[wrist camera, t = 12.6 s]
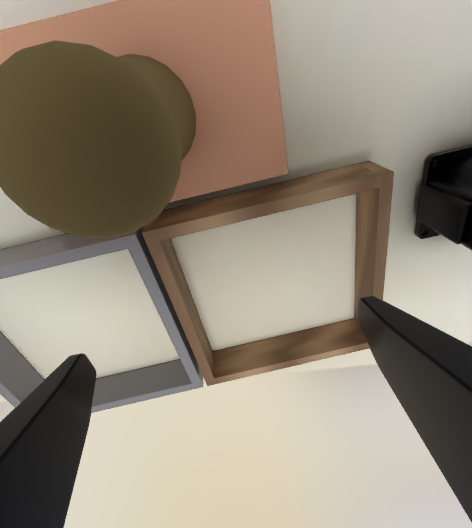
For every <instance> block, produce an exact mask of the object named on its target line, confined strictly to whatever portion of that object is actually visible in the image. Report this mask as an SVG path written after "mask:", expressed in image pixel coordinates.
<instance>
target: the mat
mask: <svg viewBox="0 0 472 528" xmlns="http://www.w3.org/2000/svg"><path fill="white" fill-rule="evenodd" d="M54 40H57V41H65V42H72V43H80V44H87V45H92V46H94V47H97V48H99V49H101V50H103V51H105V52H107V53H109V54H111V55H113V56H115V57H119V56H123V55H127V54H134V55H142V56H149V57H151V58H153V59H155V60H157V61H159V62H161V63H163V64H165V65H167V66H168V67H169V68H170V69H171V70H172V71H173V72H174V73H175V74H176V75H177V76H178V77H179V78H180V79H181V80H182V82H183V84H184V85H185V87H186V89H187V91H188V92H189V94H190V96H191V98H192V102H193V106H194V109H195V113H196V134H195V137H194V140H193V143H192V146H191V149H190V150H189V152H188V153H187V154H186V156H185V157H184V158H183V160H182V161H181V173H180V177H179V180H178V183H177V186H176V189H175V191H174V194H173V197H172V199H171V200H170V202H174V201H178V200H182V199H186V198H190V197H194V196H198V195H203V194H207V193H211V192H215V191H219V190H223V189H227V188H231V187H236V186H240V185H244V184H248V183H252V182H256V181H260V180H265V179H269V178H273V177H277V176H281V175H285V174H288V165H287V156H286V147H285V137H284V128H283V119H282V110H281V101H280V91H279V82H278V73H277V64H276V55H275V45H274V36H273V27H272V18H271V9H270V0H119V1H115V2H111V3H107V4H103V5H99V6H95V7H91V8H88V9H84V10H80V11H76V12H72V13H68V14H64V15H60V16H56V17H52V18H48V19H44V20H40V21H36V22H32V23H28V24H24V25H21V26H17V27H13V28H9V29H5V30H1V31H0V65H1V64H2V63H3V62H4V61H6V60H7V59H8V58H9V57H10V56H11V55H13V54H14V53H15V52H17V51H19V50H21V49H23V48H27V47H31V46H35V45H39V44H42V43H46V42H50V41H54ZM170 202H169V203H170ZM51 230H52V231H54V230H55V229H52V228H51Z"/></svg>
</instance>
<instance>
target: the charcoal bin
mask: <svg viewBox="0 0 472 528" xmlns="http://www.w3.org/2000/svg"><path fill="white" fill-rule="evenodd" d="M143 228H144V226H143V227H141V228H139V229H138V230H136V231H135V232H133V233H130V234H125V235H121V236H117V237H113V238H84V237H79V236H75V235H72V234H69V233H68V234H64V235H60V236H56V237H52V238H48V239H43V240H39V241H35V242H31V243H27V244H23V245H19V246H15V247H10V248H6V249H2V250H0V279H3V278H7V277H11V276H16V275H20V274H24V273H28V272H32V271H36V270H41V269H45V268H49V267H53V266H57V265H61V264H65V263H70V262H74V261H78V260H82V259H86V258H90V257H95V256H99V255H103V254H107V253H111V252H115V251H120V250H124V249H128V250H129V252H130V254H131V256H132V258H133V260H134V262H135V265H136V267H137V269H138V271H139V273H140V275H141V277H142V279H143V281H144V284H145V286H146V288H147V290H148V292H149V294H150V296H151V298H152V300H153V302H154V305H155V307H156V309H157V311H158V313H159V315H160V317H161V319H162V321H163V324H164V326H165V328H166V330H167V332H168V334H169V336H170V338H171V340H172V343H173V345H174V347H175V349H176V351H177V353H178V355H179V357H180V360H175V361H171V362H167V363H163V364H158V365H154V366H150V367H146V368H141V369H137V370H133V371H128V372H124V373H120V374H116V375H111V376H107V377H103V378H98V379H96V382H95V389H94V396H93V403H92V410H91V413H93V412H97V411H101V410H105V409H110V408H114V407H118V406H123V405H127V404H132V403H136V402H140V401H145V400H149V399H153V398H157V397H162V396H166V395H170V394H175V393H179V392H183V391H187V390H192V389H196V388H200V387H203V374H202V372H201V370H200V367H199V365H198V363H197V360H196V358H195V356H194V353H193V351H192V349H191V346H190V344H189V342H188V339H187V337H186V335H185V332H184V330H183V328H182V325H181V323H180V321H179V318H178V316H177V314H176V311H175V309H174V307H173V304H172V302H171V300H170V297H169V295H168V293H167V290H166V288H165V286H164V283H163V281H162V279H161V276H160V274H159V272H158V269H157V267H156V265H155V262H154V260H153V258H152V255H151V253H150V251H149V249H148V246H147V244H146V242H145V239H144V237H143V235H142V231H143ZM43 381H44V379H43V378H42V377H41V376H40V374H39V373H38V372H37V371H36V370H35V369H34V368H33V367H32V366H31V365H30V364H29V362H28V361H27V360H26V359H25V358H24V357H23V356H22V355H21V354H20V353H19V351H18V350H17V349H16V348H15V347H14V346H13V345H12V344H11V343H10V342H9V341H8V339H7V338H6V337H5V336H4V335H3V334H2V333H1V332H0V394H1V395H2V396H3V397H4V398H5V399H6V400H7V401H9V402H10V403H11V404H12V405H13V406H14V407H15V408H16V407H17V406H18V405H19V404H20V403H21V402H22V401H23V400H24V399H25V398H26V397H27V396H28V395H29V394H30V393H31V392H32V391H34V390H35V389H36V388H37V387H38V386H39V385H40V384H41V383H42V382H43Z"/></svg>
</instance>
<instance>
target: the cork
mask: <svg viewBox="0 0 472 528" xmlns="http://www.w3.org/2000/svg"><path fill="white" fill-rule="evenodd" d="M195 134H196V113H195V109H194V106H193V102H192V98H191V96H190V94H189V92H188V91H187V89H186V87H185V85H184V84H183V82H182V80H181V79H180V78H179V77H178V76H177V75H176V74H175V73H174V72H173V71H172V70H171V69H170V68H169V67H168V66H167V65H165V64H163V63H161V62H159V61H157V60H155V59H153V58H151V57H149V56H142V55H134V54H127V55H123V56H119V57H115V56H113V55H111V54H109V53H107V52H105V51H103V50H101V49H99V48H97V47H94V46H92V45H87V44H80V43H72V42H65V41H57V40H54V41H50V42H46V43H42V44H39V45H35V46H31V47H27V48H23V49H21V50H19V51H17V52H15V53H14V54H13V55H11V56H10V57H9V58H8V59H7V60H6V61H4V62H3V63H2V64H1V65H0V187H1V188H2V190H3V191H4V193H5V194H6V195H7V196H8V197H9V198H10V199H11V200H13V201H14V202H15V203H16V204H17V205H18V206H19V207H20V208H21V209H22V210H23V211H24V212H26V213H27V214H28V215H29V216H31V217H33V218H35V219H36V220H38V221H40V222H42V223H43V224H45V225H47V226H49V227H50V228H52V229H55V230H59V231H62V232H65V233H69V234H72V235H75V236H79V237H84V238H113V237H117V236H121V235H125V234H130V233H133V232H135V231H136V230H138V229H139V228H141V227H143V226H144V225H146V224H147V223H149V222H151V221H152V220H154V219H155V218H156V217H158V216H159V214H160V213H161V212H162V210H163V209H164V208H165V207H166V205H167V204H168V203H169V202H170V200H171V199H172V197H173V194H174V191H175V189H176V186H177V183H178V180H179V177H180V173H181V161H182V160H183V158H184V157H185V156H186V154H187V153H188V152H189V150H190V149H191V146H192V143H193V140H194V137H195Z"/></svg>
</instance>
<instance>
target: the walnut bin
mask: <svg viewBox="0 0 472 528" xmlns="http://www.w3.org/2000/svg"><path fill="white" fill-rule="evenodd" d="M393 176H394V172H393V171H391V170H388V169H386V168H384V167H382V166H380V165H377V164H375V163H373V162H371V161H366V162H362V163H358V164H353V165H349V166H345V167H341V168H337V169H333V170H329V171H324V172H320V173H316V174H312V175H308V176H304V177H300V178H296V179H291V180H287V181H283V182H279V183H275V184H271V185H267V186H262V187H258V188H254V189H250V190H246V191H242V192H238V193H234V194H229V195H225V196H221V197H217V198H213V199H209V200H205V201H200V202H196V203H192V204H188V205H184V206H180V207H176V208H172V209H167V210H163V211H162V212H161V213H160V214H159V216H158V217H156V218H155V219H154V220H152V221H151V222H149V223H147V224H146V225H144V228H143V231H142V235H143V237H144V239H145V242H146V244H147V246H148V249H149V251H150V253H151V255H152V258H153V260H154V262H155V265H156V267H157V269H158V272H159V274H160V276H161V279H162V281H163V283H164V286H165V288H166V290H167V293H168V295H169V297H170V300H171V302H172V304H173V307H174V309H175V311H176V314H177V316H178V318H179V321H180V323H181V325H182V328H183V330H184V332H185V335H186V337H187V339H188V342H189V344H190V346H191V349H192V351H193V353H194V356H195V358H196V360H197V363H198V365H199V367H200V370H201V372H202V374H203V377H204V379H205V381H206V384H207V386H209V385H214V384H218V383H222V382H226V381H231V380H235V379H239V378H244V377H248V376H252V375H257V374H261V373H265V372H270V371H274V370H278V369H282V368H287V367H291V366H295V365H300V364H304V363H308V362H313V361H317V360H321V359H326V358H330V357H334V356H338V355H343V354H347V353H351V352H356V351H360V350H364V349H369V348H370V347H369V345H368V343H367V340H366V338H365V336H364V334H363V332H362V329H361V327H360V325H359V323H358V319H357V312H358V300H359V298H361V297H365V296H370V295H372V296H375V297H377V298H379V299H381V300H383V290H384V279H385V267H386V256H387V245H388V233H389V222H390V210H391V199H392V188H393ZM352 194H357V214H356V264H355V315H354V319H351V320H347V321H342V322H338V323H334V324H329V325H325V326H321V327H317V328H312V329H308V330H304V331H299V332H295V333H291V334H287V335H282V336H278V337H274V338H270V339H265V340H261V341H257V342H252V343H248V344H244V345H240V346H235V347H231V348H227V349H223V350H218V351H214V352H212V349H211V346H210V344H209V341H208V338H207V336H206V333H205V330H204V328H203V325H202V322H201V320H200V317H199V314H198V312H197V309H196V306H195V304H194V301H193V298H192V296H191V293H190V290H189V288H188V285H187V282H186V280H185V277H184V274H183V272H182V269H181V266H180V264H179V261H178V258H177V256H176V253H175V250H174V248H173V245H172V242H171V240H170V238H174V237H178V236H182V235H186V234H190V233H194V232H199V231H203V230H207V229H211V228H215V227H219V226H224V225H228V224H232V223H236V222H240V221H244V220H249V219H253V218H257V217H261V216H265V215H269V214H273V213H278V212H282V211H286V210H290V209H294V208H298V207H303V206H307V205H311V204H315V203H319V202H323V201H328V200H332V199H336V198H340V197H344V196H348V195H352Z"/></svg>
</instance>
